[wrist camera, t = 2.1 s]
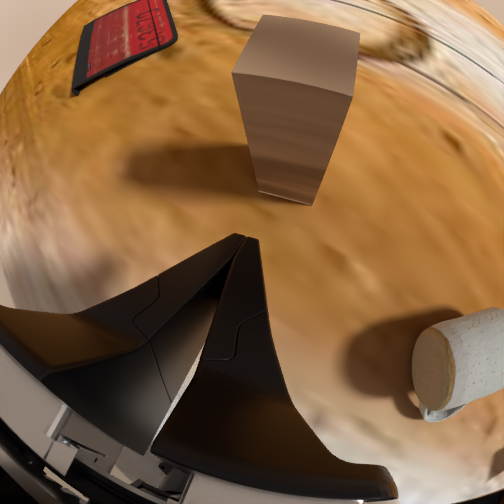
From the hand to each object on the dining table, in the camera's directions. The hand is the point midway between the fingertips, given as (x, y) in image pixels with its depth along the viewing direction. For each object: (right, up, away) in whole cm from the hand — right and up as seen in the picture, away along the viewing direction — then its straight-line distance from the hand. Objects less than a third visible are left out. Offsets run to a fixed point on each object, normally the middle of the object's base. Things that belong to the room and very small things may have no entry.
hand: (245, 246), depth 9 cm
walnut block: (+4, +6, +13) cm, 15 cm away
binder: (-19, +33, +19) cm, 43 cm away
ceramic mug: (+18, -11, +10) cm, 23 cm away
